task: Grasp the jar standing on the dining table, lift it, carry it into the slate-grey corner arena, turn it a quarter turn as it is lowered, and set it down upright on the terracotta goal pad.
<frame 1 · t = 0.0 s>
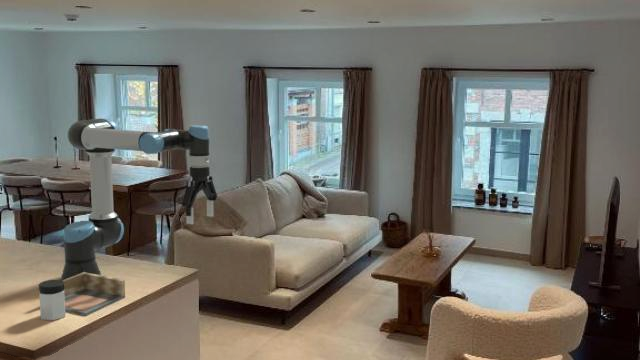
hand: (200, 220, 246), 28 cm above the kitchen island, fingers open, 13 cm apart
jar: (53, 316, 221), on the kitchen island
arena: (85, 301, 235), on the kitchen island
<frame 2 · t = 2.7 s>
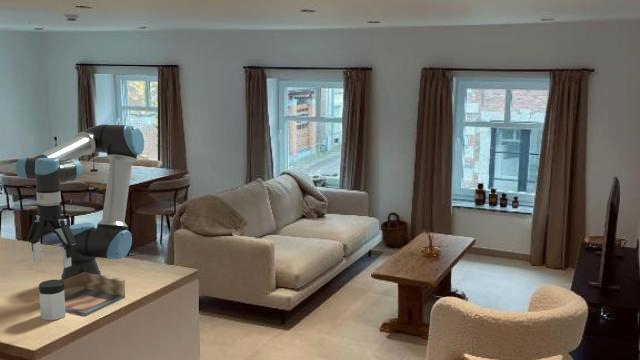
hand: (52, 263, 218), 19 cm above the kitchen island, fingers open, 13 cm apart
nothing on the kitchen island moved.
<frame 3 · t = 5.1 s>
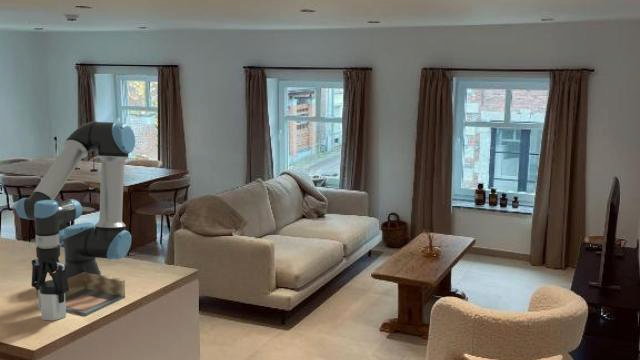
hand: (51, 308, 220), 3 cm above the kitchen island, fingers closed on jar, 7 cm apart
jar: (54, 316, 221), on the kitchen island, touching gripper
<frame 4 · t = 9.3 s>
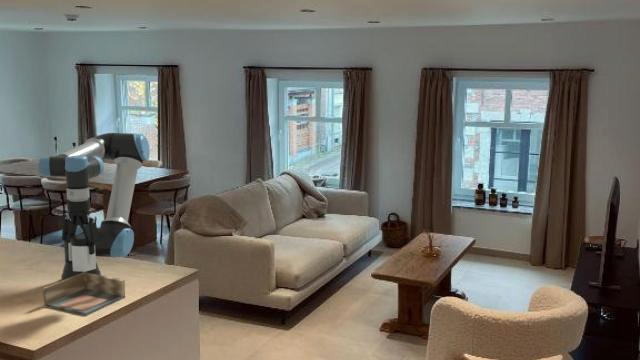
hand: (81, 261, 228), 17 cm above the kitchen island, fingers closed on jar, 7 cm apart
jar: (84, 268, 229), point 14 cm above the kitchen island, touching gripper
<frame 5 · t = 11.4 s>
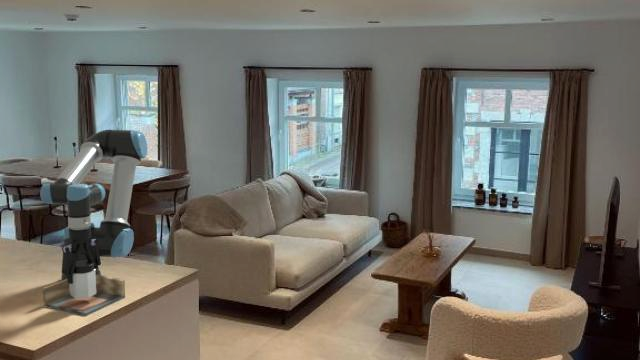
hand: (82, 288, 230), 7 cm above the kitchen island, fingers closed on jar, 7 cm apart
jar: (83, 295, 231), point 4 cm above the kitchen island, touching gripper
when the fingers open (5 cm above the kitchen island, at t = 13.1 s): jar stays where it is, point 1 cm above the kitchen island.
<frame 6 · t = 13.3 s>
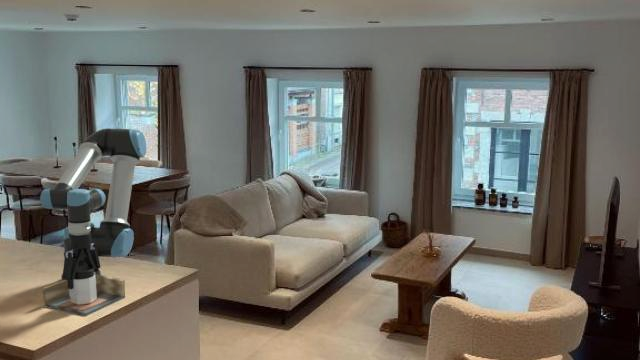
hand: (83, 292, 231), 5 cm above the kitchen island, fingers open, 9 cm apart
jar: (84, 301, 232), point 1 cm above the kitchen island, touching gripper
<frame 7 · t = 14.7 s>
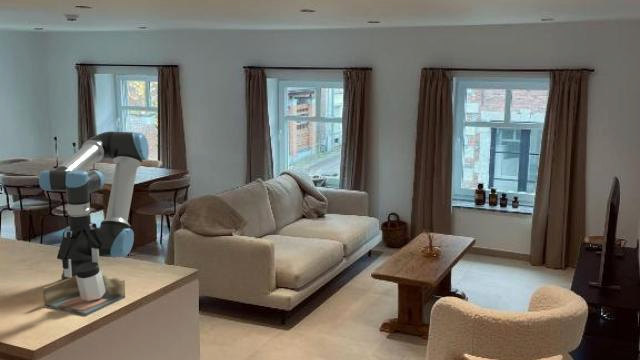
hand: (82, 271, 229), 13 cm above the kitchen island, fingers open, 13 cm apart
jar: (93, 296, 236), point 2 cm above the kitchen island, touching arena, gripper
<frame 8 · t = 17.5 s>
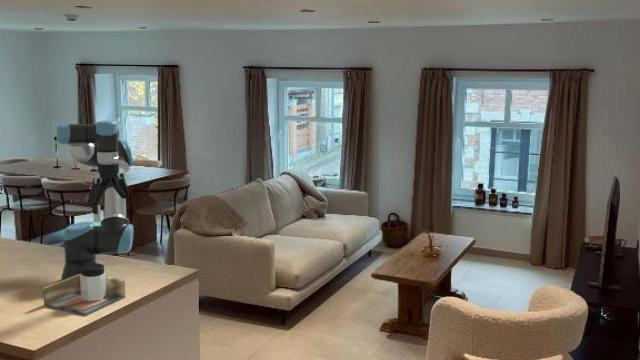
hand: (110, 218, 239), 30 cm above the kitchen island, fingers open, 13 cm apart
jar: (94, 298, 236), point 1 cm above the kitchen island, touching arena
at the end: jar inside the target area on the arena (5.4 cm from its centre), point 1.0 cm above the arena's base; jar tilted 0°; the gripper is holding nothing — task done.
